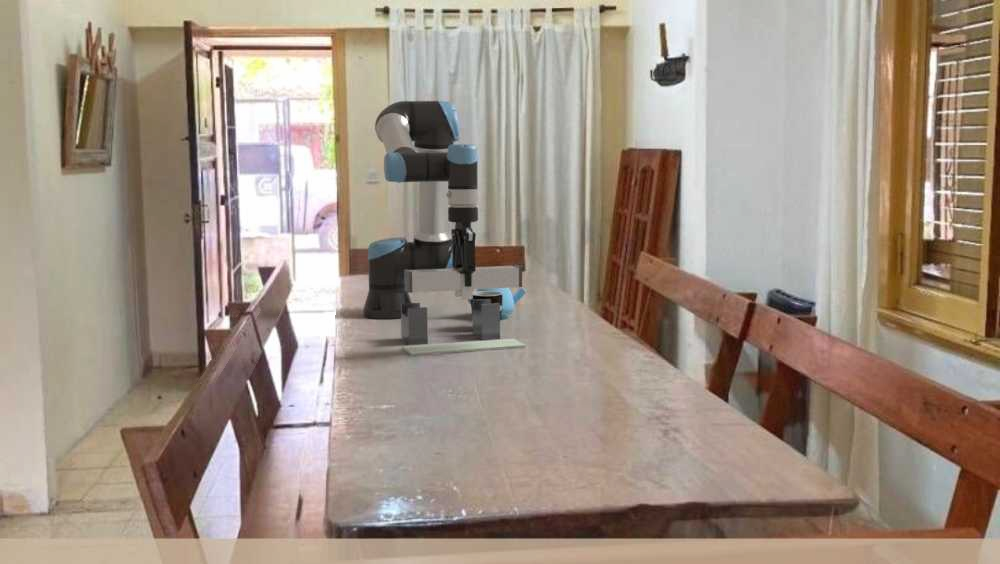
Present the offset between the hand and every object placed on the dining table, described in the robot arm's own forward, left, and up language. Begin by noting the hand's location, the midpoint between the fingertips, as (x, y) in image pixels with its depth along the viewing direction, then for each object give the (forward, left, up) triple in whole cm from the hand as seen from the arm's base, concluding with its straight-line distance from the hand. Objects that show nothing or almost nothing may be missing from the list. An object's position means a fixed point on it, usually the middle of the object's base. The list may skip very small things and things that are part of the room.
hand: (464, 297), depth 255 cm
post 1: (-13, -10, -13) cm, 21 cm away
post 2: (-13, +10, -13) cm, 21 cm away
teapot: (-40, +21, -13) cm, 47 cm away
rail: (0, 0, +2) cm, 2 cm away
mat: (0, 0, -13) cm, 13 cm away
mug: (-25, +14, -13) cm, 32 cm away
